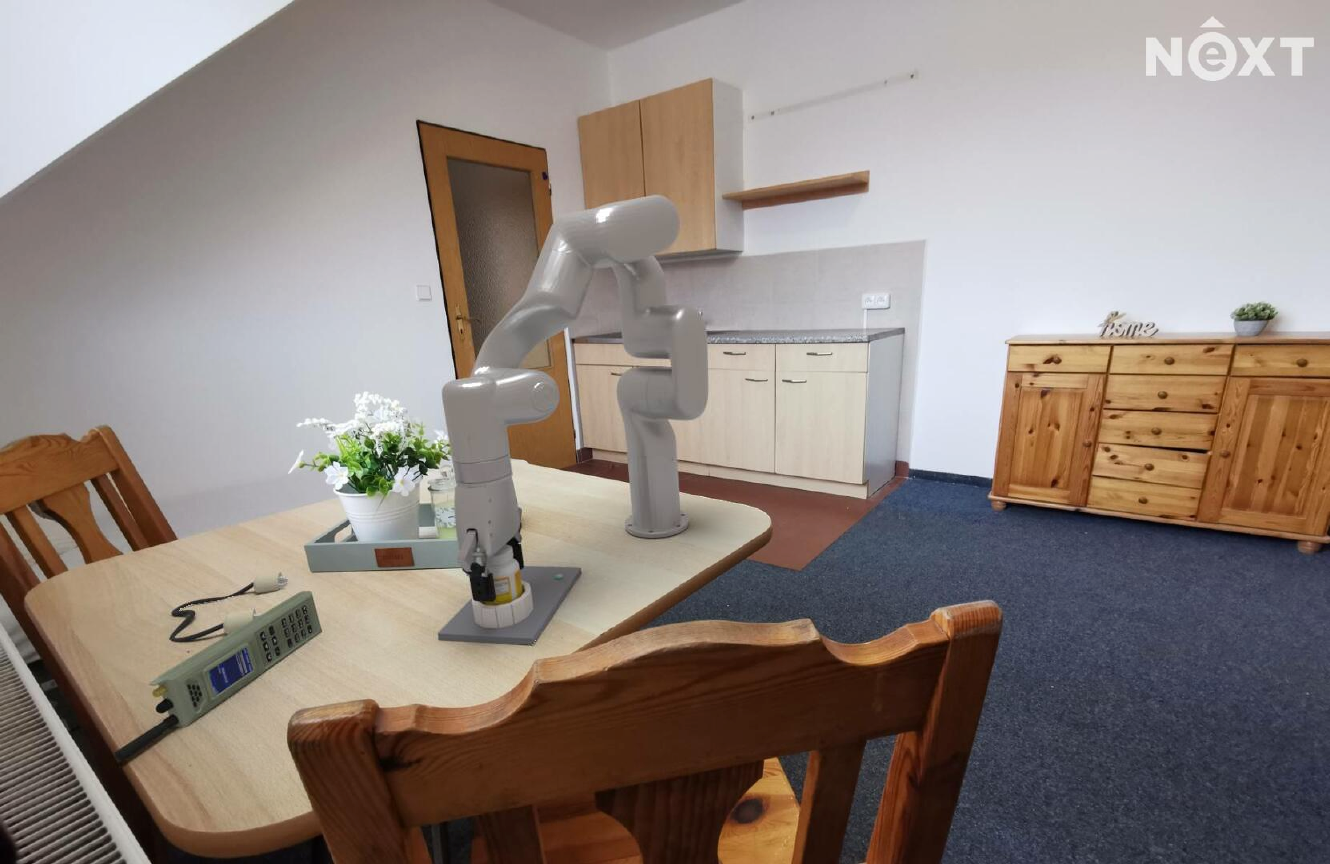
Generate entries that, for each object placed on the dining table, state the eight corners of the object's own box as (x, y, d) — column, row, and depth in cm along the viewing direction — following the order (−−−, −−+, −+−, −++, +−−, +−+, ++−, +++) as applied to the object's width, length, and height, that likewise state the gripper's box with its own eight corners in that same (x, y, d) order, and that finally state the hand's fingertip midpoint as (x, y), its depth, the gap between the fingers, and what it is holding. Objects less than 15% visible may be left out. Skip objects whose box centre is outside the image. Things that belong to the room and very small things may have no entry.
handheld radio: (326, 632, 82) (133, 770, 59) (308, 631, 83) (110, 766, 60) (315, 591, 81) (112, 715, 57) (297, 590, 82) (90, 712, 58)
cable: (132, 663, 79) (125, 641, 78) (182, 607, 93) (176, 588, 93) (263, 633, 84) (257, 612, 83) (290, 584, 99) (286, 566, 98)
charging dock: (504, 570, 97) (501, 549, 96) (581, 573, 95) (579, 551, 94) (438, 639, 78) (434, 614, 77) (533, 645, 75) (529, 618, 75)
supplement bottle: (501, 625, 79) (492, 562, 77) (479, 613, 82) (470, 552, 80) (532, 607, 83) (524, 547, 81) (510, 597, 86) (502, 539, 84)
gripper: (488, 451, 86) (503, 555, 90) (420, 490, 70) (442, 616, 74) (534, 450, 85) (547, 556, 89) (476, 490, 68) (496, 618, 72)
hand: (500, 583), depth 81 cm, fingers open, 8 cm apart
